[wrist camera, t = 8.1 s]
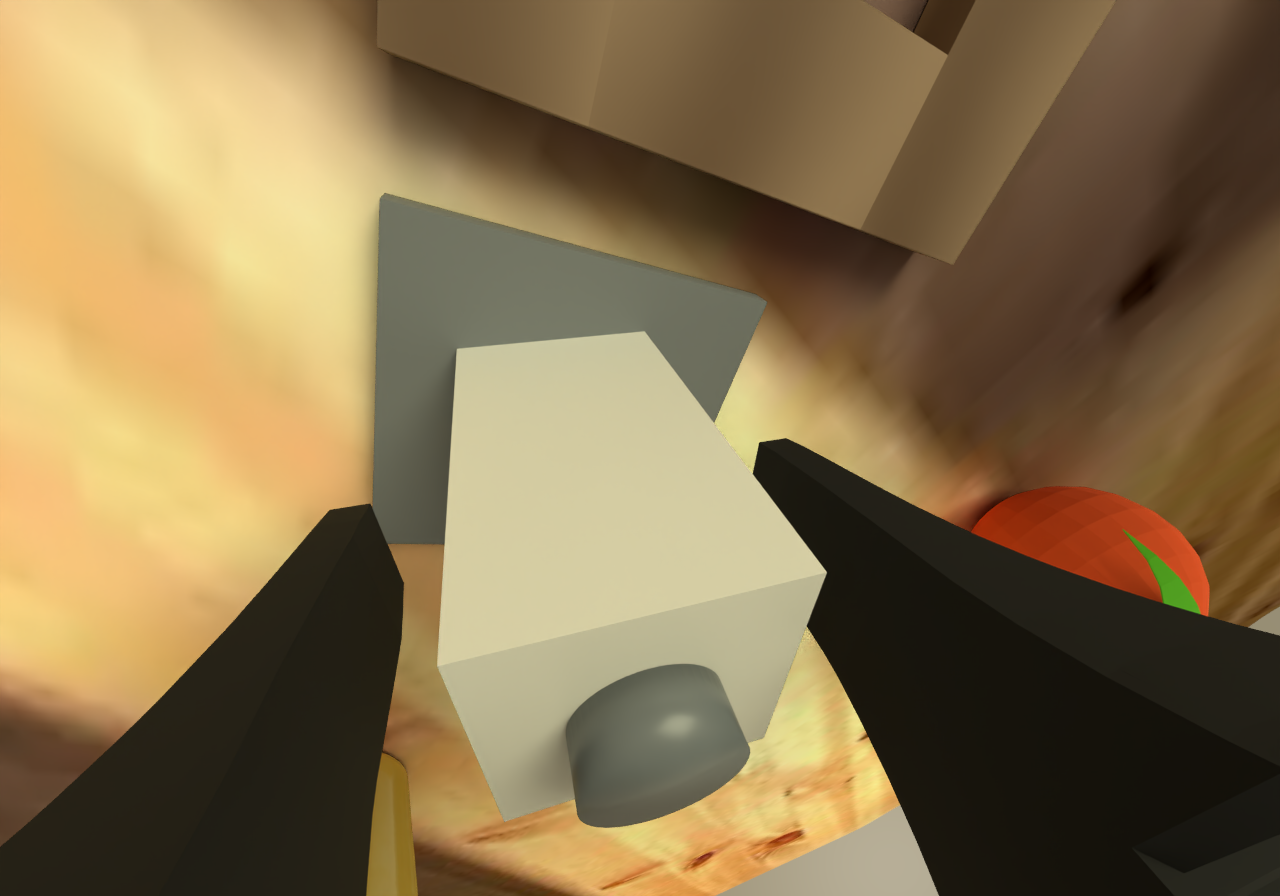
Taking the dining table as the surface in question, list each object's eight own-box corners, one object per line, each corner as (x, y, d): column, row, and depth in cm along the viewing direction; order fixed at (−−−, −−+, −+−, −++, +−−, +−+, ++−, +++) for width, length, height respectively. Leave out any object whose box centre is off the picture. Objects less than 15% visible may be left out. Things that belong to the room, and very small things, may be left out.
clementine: (918, 494, 18) (1108, 660, 13) (1081, 403, 18) (1351, 535, 12) (928, 588, 24) (1069, 737, 18) (1056, 519, 23) (1240, 649, 18)
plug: (644, 331, 11) (875, 636, 5) (641, 470, 13) (789, 795, 7) (456, 349, 10) (430, 764, 4) (489, 495, 12) (507, 897, 6)
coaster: (755, 293, 11) (767, 302, 11) (653, 533, 15) (658, 547, 15) (385, 193, 8) (379, 198, 8) (375, 526, 12) (371, 543, 12)
